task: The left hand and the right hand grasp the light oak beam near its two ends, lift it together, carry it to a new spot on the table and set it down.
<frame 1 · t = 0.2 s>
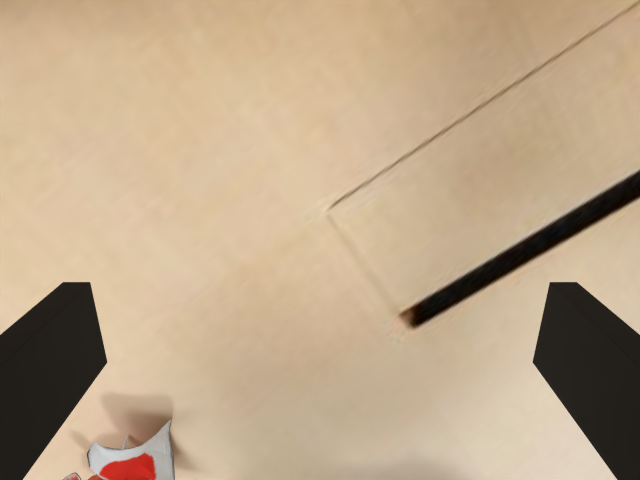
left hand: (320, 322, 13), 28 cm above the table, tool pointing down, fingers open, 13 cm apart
fish: (134, 444, 51), on the table
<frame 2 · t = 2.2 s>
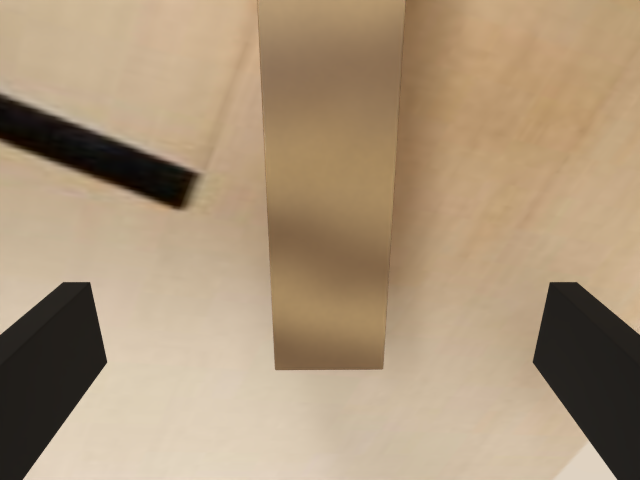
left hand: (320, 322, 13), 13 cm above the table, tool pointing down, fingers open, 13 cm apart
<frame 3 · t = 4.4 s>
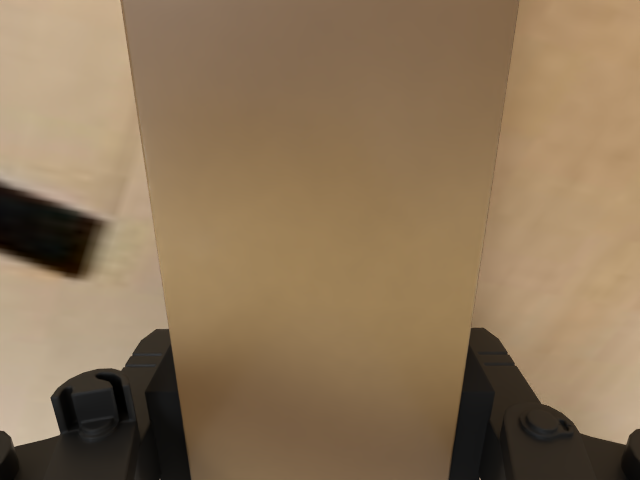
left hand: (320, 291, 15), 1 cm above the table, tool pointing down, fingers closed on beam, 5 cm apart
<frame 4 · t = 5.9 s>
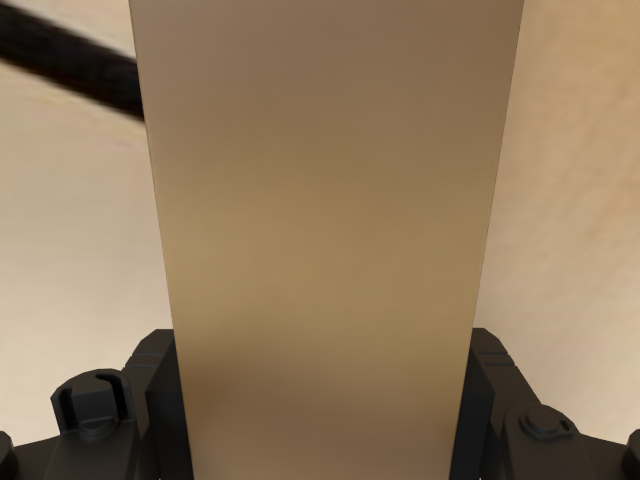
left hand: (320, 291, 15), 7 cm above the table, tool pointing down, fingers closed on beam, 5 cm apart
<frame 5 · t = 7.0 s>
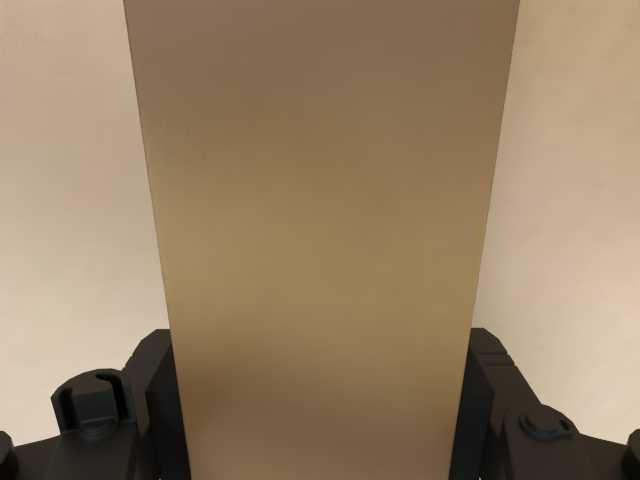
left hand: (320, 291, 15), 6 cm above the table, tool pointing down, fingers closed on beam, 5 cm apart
when the left hand's fingers open (2 cm above the table, at t = 7.6 s): beam drops 2 cm, on the table.
when the right hand's fingers open (4 cm above the table, at t = 7.8 s): beam stays where it is, on the table.
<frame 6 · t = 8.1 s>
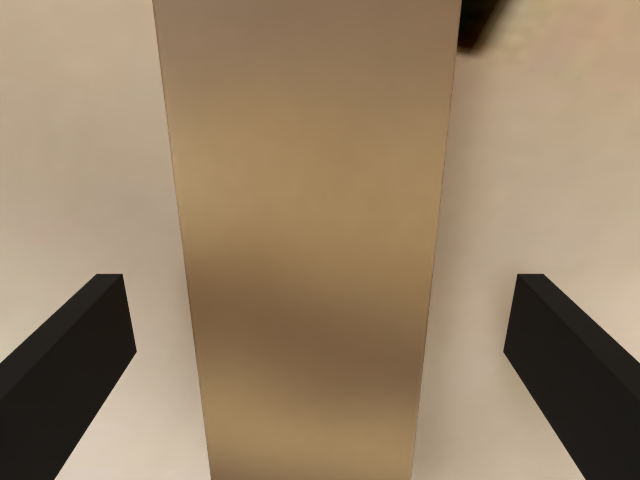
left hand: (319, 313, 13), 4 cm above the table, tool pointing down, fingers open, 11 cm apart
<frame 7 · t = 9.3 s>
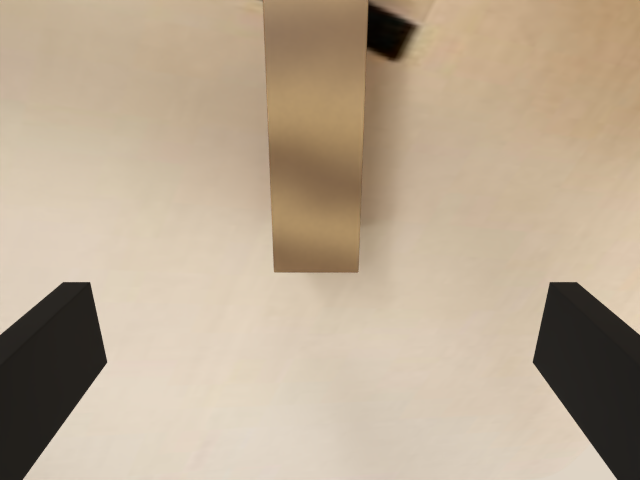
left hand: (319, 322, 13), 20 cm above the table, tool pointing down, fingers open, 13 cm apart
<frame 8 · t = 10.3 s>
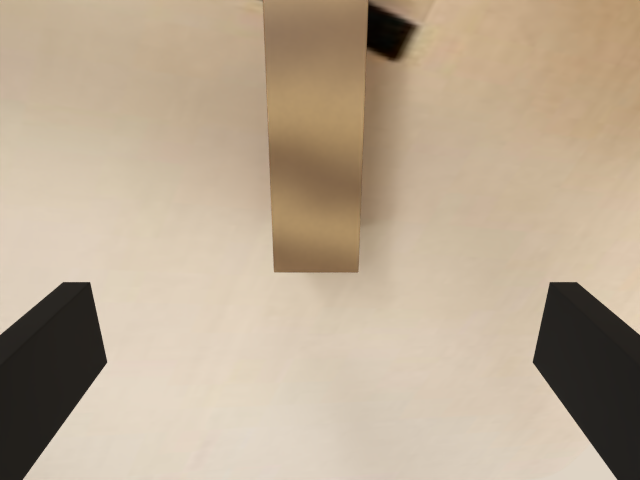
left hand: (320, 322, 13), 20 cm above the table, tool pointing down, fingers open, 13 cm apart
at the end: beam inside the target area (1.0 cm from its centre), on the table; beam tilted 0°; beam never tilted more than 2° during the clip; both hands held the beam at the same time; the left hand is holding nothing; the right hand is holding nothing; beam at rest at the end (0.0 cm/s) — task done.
